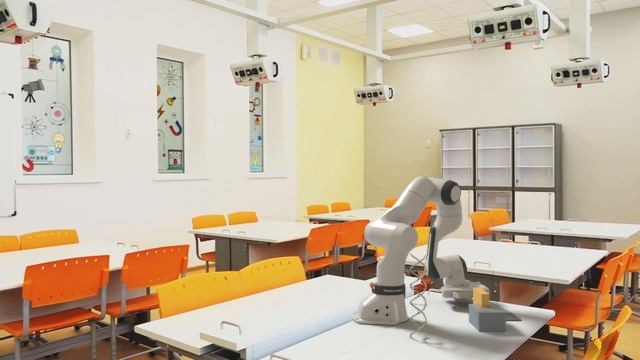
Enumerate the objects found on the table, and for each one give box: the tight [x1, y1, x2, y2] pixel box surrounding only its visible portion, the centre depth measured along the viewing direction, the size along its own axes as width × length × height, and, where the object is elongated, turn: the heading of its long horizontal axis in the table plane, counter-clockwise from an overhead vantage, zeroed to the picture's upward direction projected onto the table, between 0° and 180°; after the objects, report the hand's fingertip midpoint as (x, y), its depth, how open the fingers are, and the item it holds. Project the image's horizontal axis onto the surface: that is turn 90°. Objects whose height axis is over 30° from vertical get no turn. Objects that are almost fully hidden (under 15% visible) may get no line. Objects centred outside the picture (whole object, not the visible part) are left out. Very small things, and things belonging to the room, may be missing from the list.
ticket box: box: [468, 303, 507, 332], centre depth 198 cm, size 10×12×7 cm
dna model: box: [408, 253, 428, 340], centre depth 185 cm, size 7×6×30 cm
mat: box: [506, 312, 522, 322], centre depth 209 cm, size 10×10×1 cm
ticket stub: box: [472, 288, 490, 307], centre depth 204 cm, size 3×10×12 cm, turn 2°
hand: (470, 296), depth 217 cm, fingers open, 8 cm apart
